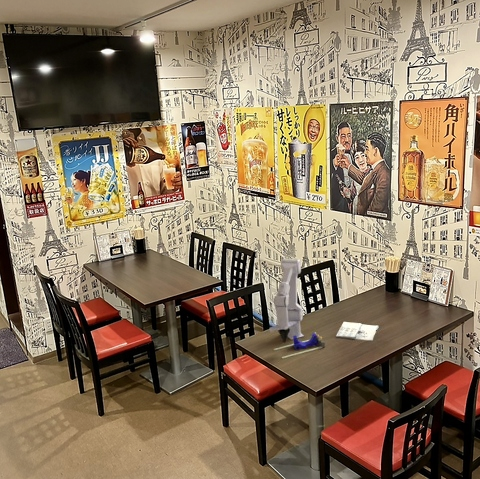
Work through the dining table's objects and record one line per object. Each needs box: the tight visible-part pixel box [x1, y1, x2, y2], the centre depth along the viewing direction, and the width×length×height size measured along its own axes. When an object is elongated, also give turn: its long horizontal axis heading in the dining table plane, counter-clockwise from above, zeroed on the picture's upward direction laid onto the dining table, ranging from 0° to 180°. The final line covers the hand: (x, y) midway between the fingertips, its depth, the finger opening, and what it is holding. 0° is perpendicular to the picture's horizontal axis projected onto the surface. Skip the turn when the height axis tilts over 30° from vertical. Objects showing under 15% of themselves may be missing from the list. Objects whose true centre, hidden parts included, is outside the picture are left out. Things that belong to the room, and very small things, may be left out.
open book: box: [335, 321, 380, 342], centre depth 273 cm, size 19×20×2 cm
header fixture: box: [273, 332, 326, 360], centre depth 260 cm, size 11×24×5 cm, turn 110°
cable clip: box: [292, 332, 318, 350], centre depth 262 cm, size 12×4×6 cm, turn 95°
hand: (284, 341), depth 256 cm, fingers closed
